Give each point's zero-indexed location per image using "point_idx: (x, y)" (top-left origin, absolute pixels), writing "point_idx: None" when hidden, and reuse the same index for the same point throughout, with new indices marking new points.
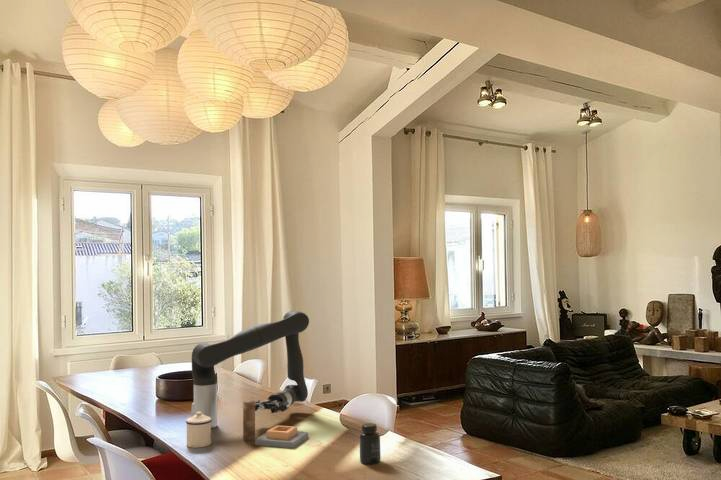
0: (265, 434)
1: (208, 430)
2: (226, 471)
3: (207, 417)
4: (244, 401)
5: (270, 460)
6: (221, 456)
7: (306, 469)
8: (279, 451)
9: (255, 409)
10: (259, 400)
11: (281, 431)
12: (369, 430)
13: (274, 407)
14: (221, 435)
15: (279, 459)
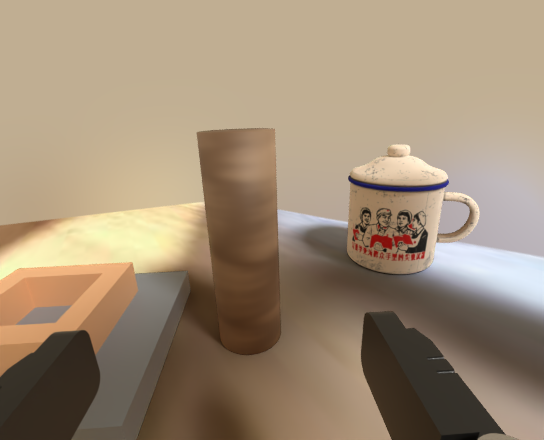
0: (154, 322)
1: (349, 207)
2: (196, 205)
3: (372, 169)
4: (266, 129)
5: (113, 237)
6: None
7: (25, 229)
8: None
9: (393, 417)
10: None
11: (50, 272)
12: None
13: (20, 376)
14: (441, 341)
15: (87, 243)
